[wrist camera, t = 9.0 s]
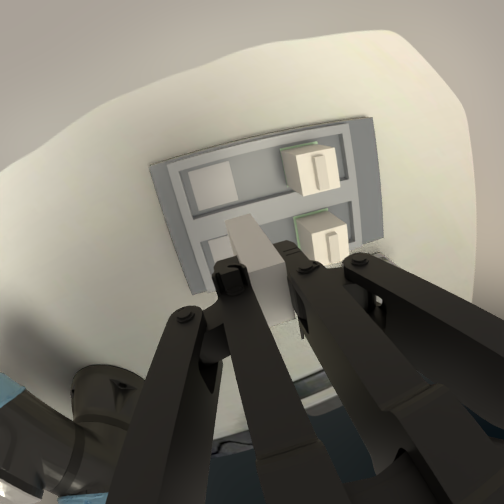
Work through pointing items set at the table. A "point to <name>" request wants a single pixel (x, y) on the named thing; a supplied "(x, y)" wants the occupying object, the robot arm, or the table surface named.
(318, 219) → the tab
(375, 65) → the table surface
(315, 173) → the tab
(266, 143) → the switch board
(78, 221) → the table surface
